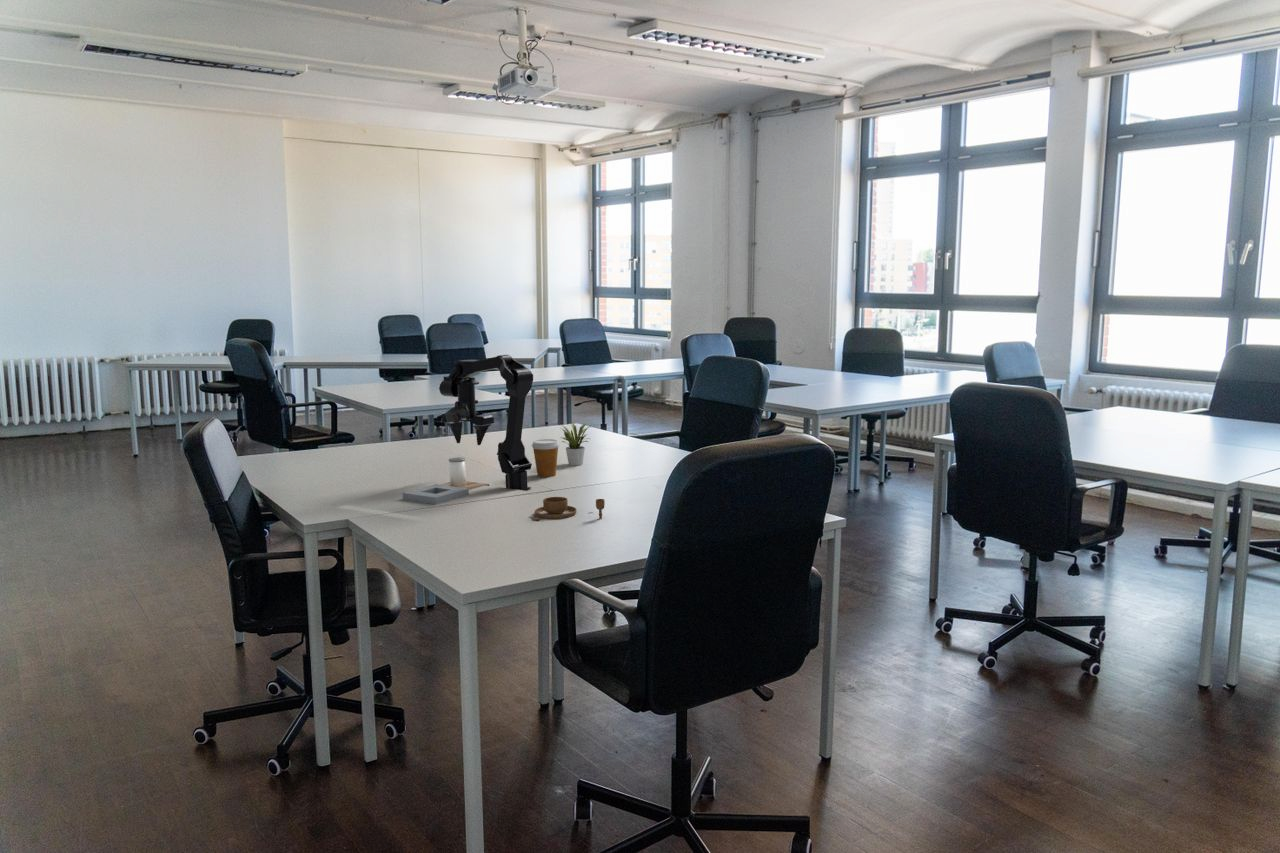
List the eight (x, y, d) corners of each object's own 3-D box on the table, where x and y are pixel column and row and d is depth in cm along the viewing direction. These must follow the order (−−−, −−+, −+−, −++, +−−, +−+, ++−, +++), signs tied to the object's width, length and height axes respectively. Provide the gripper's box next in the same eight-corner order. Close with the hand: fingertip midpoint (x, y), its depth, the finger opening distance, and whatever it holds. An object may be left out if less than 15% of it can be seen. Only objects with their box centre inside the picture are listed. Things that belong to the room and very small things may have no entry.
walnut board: (489, 487, 297) (489, 484, 297) (459, 495, 286) (459, 492, 285) (457, 482, 305) (457, 480, 304) (427, 491, 293) (427, 488, 293)
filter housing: (468, 498, 282) (468, 488, 282) (436, 507, 270) (436, 497, 270) (436, 493, 289) (435, 484, 289) (403, 502, 278) (402, 492, 277)
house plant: (601, 460, 340) (600, 417, 338) (595, 467, 326) (594, 422, 324) (563, 460, 342) (562, 417, 339) (556, 467, 328) (555, 422, 325)
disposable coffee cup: (529, 474, 317) (527, 440, 315) (555, 471, 321) (553, 438, 319) (537, 479, 308) (536, 444, 307) (564, 476, 312) (563, 442, 311)
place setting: (571, 507, 270) (571, 487, 269) (609, 520, 254) (608, 499, 253) (519, 516, 260) (518, 496, 259) (555, 530, 244) (554, 509, 243)
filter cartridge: (469, 485, 296) (468, 458, 294) (458, 488, 291) (457, 460, 290) (458, 483, 298) (456, 456, 297) (446, 486, 294) (445, 459, 293)
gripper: (428, 399, 299) (431, 445, 302) (470, 402, 290) (473, 450, 292) (452, 395, 309) (454, 440, 311) (494, 398, 299) (496, 444, 301)
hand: (468, 444), depth 304 cm, fingers open, 9 cm apart
